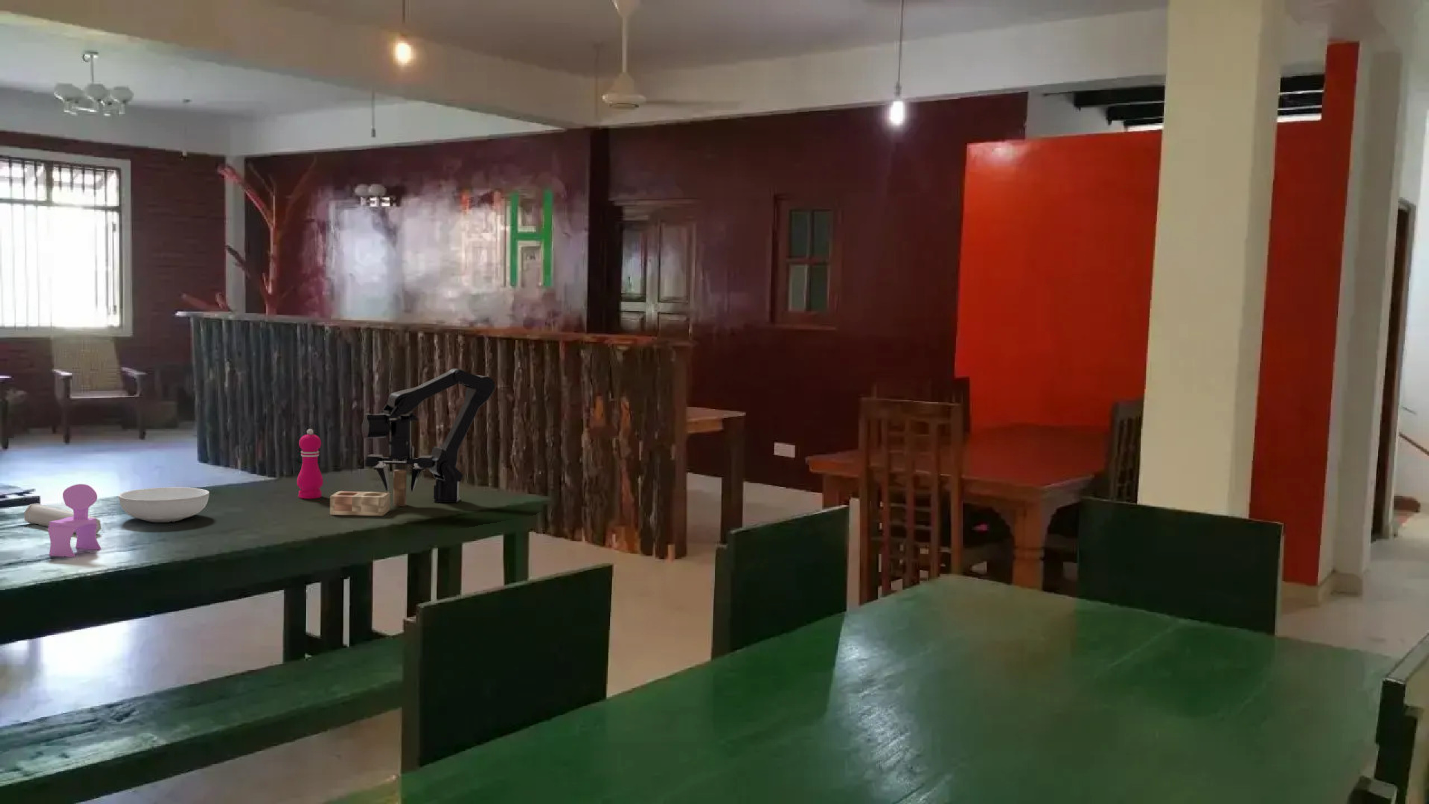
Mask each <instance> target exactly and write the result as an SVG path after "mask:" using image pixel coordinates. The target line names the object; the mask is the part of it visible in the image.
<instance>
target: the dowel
mask: <svg viewBox="0 0 1429 804" xmlns="http://www.w3.org/2000/svg"><path fill="white" fill-rule="evenodd" d="M407 474H408V473H407V469H401V468H400V469H393V475H392V476H393V479H392V480H393V482H392V484H393V485H392V487H393V489H392V492H393V493H392V506H394V507H405V506H406V507H407V477H408V476H407Z"/></svg>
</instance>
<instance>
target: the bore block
mask: <svg viewBox="0 0 1429 804" xmlns="http://www.w3.org/2000/svg"><path fill="white" fill-rule="evenodd" d="M390 498H391V493H390V491H386V492H385V491H383V492H382V491H349V490H348V491H345V490H344V491H343V490H339V491H337V492H334V493H333V494H332V495H330V497H329V515H334V516H335V515H337V516H339V515H340V516H381V517H382V516H384V515H385V514H387V513H388V512H389V511H391V507H390V506H391V504H390V502H391V499H390Z"/></svg>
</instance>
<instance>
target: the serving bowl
mask: <svg viewBox="0 0 1429 804" xmlns="http://www.w3.org/2000/svg"><path fill="white" fill-rule="evenodd" d="M209 498H210V491H209V490H206V489H201V488H198V487H197V488H195V487H180V486H179V487H173V486H172V487H170V486H169V487H151V488H142V489H141V488H140V489H133V490H128V491H124V492H122V493H119V495H118V501H119V504H120V507H121V508H122V510H123V512H125V514H127V515H128V516H130V517H131V518H135V519H138V520H143V521H146V522H150V523H169V522H171V521H172V522H177V521H183V519H187V518H189V517H193V516H194V515H197V514H199V513H200V512H202V510H204V508H205V507H206V506H207V504H208V501H209Z"/></svg>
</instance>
